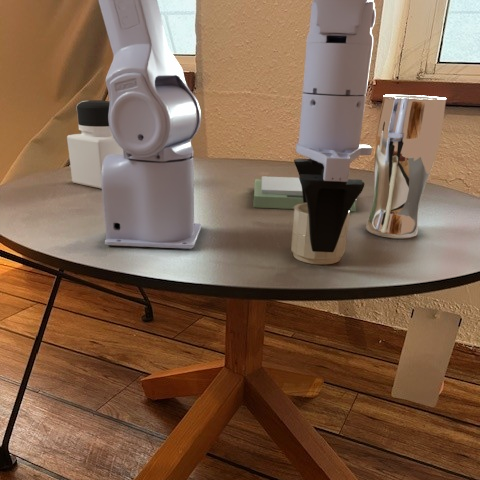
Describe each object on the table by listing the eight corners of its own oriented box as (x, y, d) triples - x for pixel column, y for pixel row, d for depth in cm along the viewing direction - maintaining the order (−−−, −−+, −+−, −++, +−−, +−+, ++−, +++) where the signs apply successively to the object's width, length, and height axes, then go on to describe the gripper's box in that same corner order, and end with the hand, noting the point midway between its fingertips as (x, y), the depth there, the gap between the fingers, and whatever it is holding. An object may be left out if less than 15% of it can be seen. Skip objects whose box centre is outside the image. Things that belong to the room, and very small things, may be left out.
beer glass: (351, 225, 63) (369, 94, 56) (398, 221, 65) (421, 95, 58) (382, 242, 57) (407, 99, 50) (433, 237, 59) (463, 99, 53)
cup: (291, 264, 50) (295, 215, 48) (289, 246, 55) (292, 200, 53) (347, 266, 50) (353, 217, 48) (339, 248, 55) (345, 203, 53)
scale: (253, 207, 69) (254, 191, 68) (254, 189, 79) (255, 175, 78) (355, 211, 69) (357, 195, 68) (344, 193, 79) (345, 178, 78)
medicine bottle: (136, 182, 81) (131, 101, 75) (103, 190, 76) (95, 103, 70) (105, 176, 84) (98, 98, 79) (71, 183, 79) (61, 100, 74)
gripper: (397, 101, 39) (371, 265, 45) (364, 91, 52) (347, 220, 58) (306, 98, 39) (292, 262, 45) (295, 88, 52) (286, 217, 58)
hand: (318, 238), depth 52 cm, fingers open, 7 cm apart
